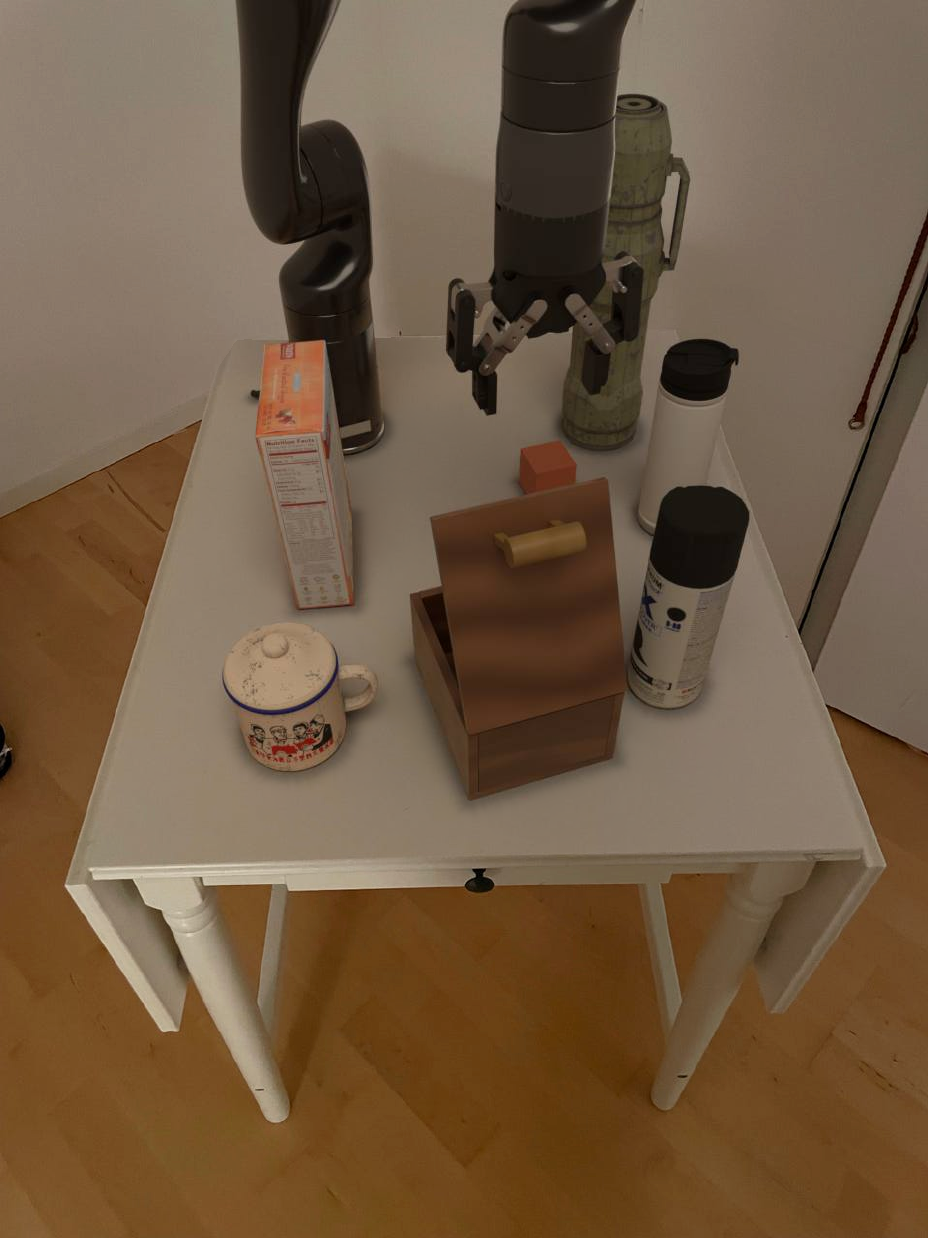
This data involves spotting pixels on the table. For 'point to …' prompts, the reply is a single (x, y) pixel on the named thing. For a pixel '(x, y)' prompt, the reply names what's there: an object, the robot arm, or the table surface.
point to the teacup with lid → (291, 694)
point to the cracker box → (306, 472)
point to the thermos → (641, 235)
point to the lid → (532, 603)
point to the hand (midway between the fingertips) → (539, 399)
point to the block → (546, 467)
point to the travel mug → (685, 421)
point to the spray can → (685, 592)
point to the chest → (516, 746)
